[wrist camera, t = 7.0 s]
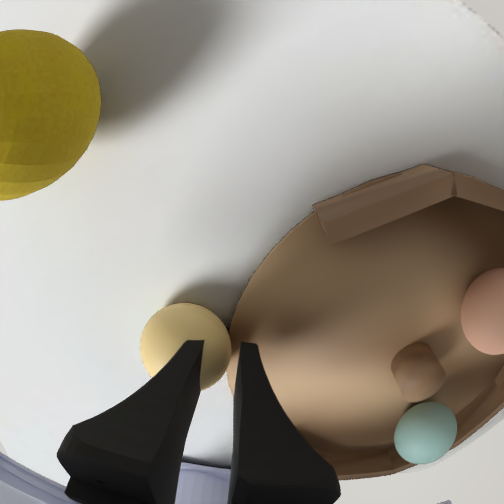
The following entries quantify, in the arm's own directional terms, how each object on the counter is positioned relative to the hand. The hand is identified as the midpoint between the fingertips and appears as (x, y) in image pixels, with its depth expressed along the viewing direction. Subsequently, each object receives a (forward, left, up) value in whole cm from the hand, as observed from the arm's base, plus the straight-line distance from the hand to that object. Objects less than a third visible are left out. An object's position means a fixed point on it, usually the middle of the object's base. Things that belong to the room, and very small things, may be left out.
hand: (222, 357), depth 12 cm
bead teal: (-5, -12, -2) cm, 13 cm away
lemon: (+9, +7, -2) cm, 12 cm away
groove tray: (-1, -10, -2) cm, 10 cm away
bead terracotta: (+4, -12, -2) cm, 13 cm away
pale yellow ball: (0, +3, +1) cm, 3 cm away
